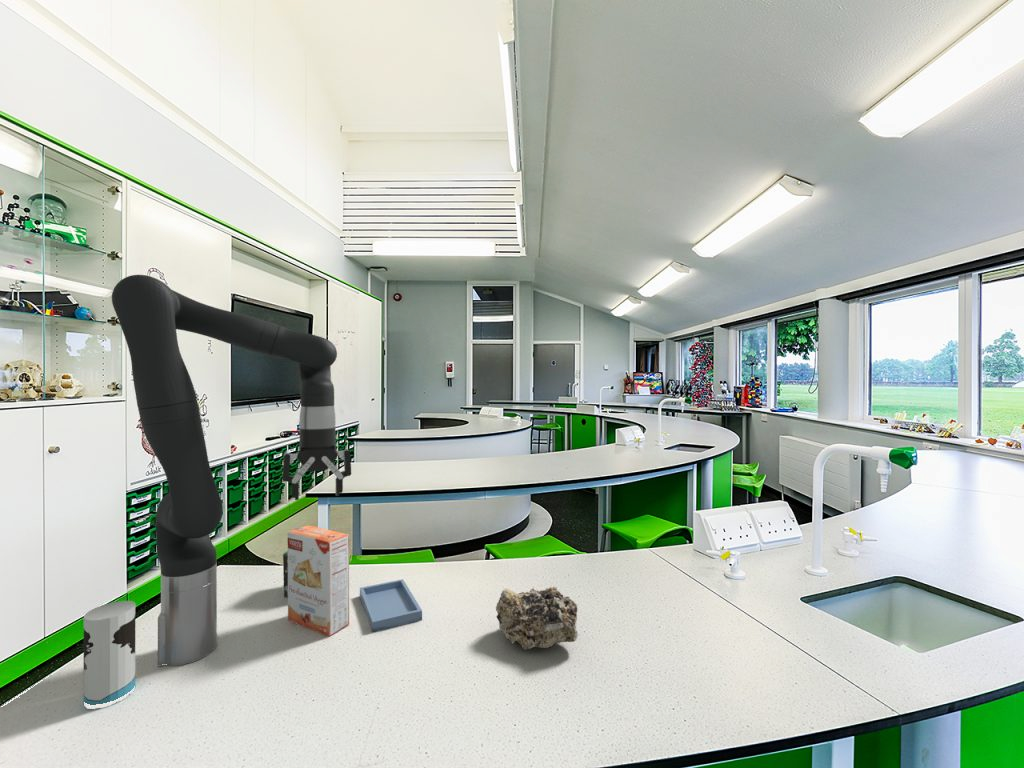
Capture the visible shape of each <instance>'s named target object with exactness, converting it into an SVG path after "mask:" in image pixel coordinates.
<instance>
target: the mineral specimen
mask: <svg viewBox="0 0 1024 768" xmlns="http://www.w3.org/2000/svg"><path fill="white" fill-rule="evenodd" d="M495 611H496V612H497V615H496V619H497V621H498V625H499V630H501V632H502V633H504V635H505V638H506V639H507V640H509V641H510V643H512V644H514V643H515V642H517V643H519V644H520V645H521V647H522V649H524V650H531V649H533V648H534V647H536V648H541V649H542V648H550V647H552V646H553V645H554V644H555V643H557V644H560V643H574V642H576V641H577V639H578V636H579V635H578V634H579V633H578V630H577V620H578V614H577V613H578V605H577V603H575V601H574V600H572V599H571V598H570V597H569V596H564V595H563V594H562V593H561V592H560V591H559V590H558V589H557V587H556V586H549V587H547V588H545V589H544V590H543V589H542V590H537V589H536V590H535V588H531V589H530V590H529V591H526V592H525V591H522V592H520V593H516V592H514V591H512V590H510V589H508V588H504V589H503V590H502V591H501V593H500V597H499V599H498V602H497V603H496V606H495Z"/></svg>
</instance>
